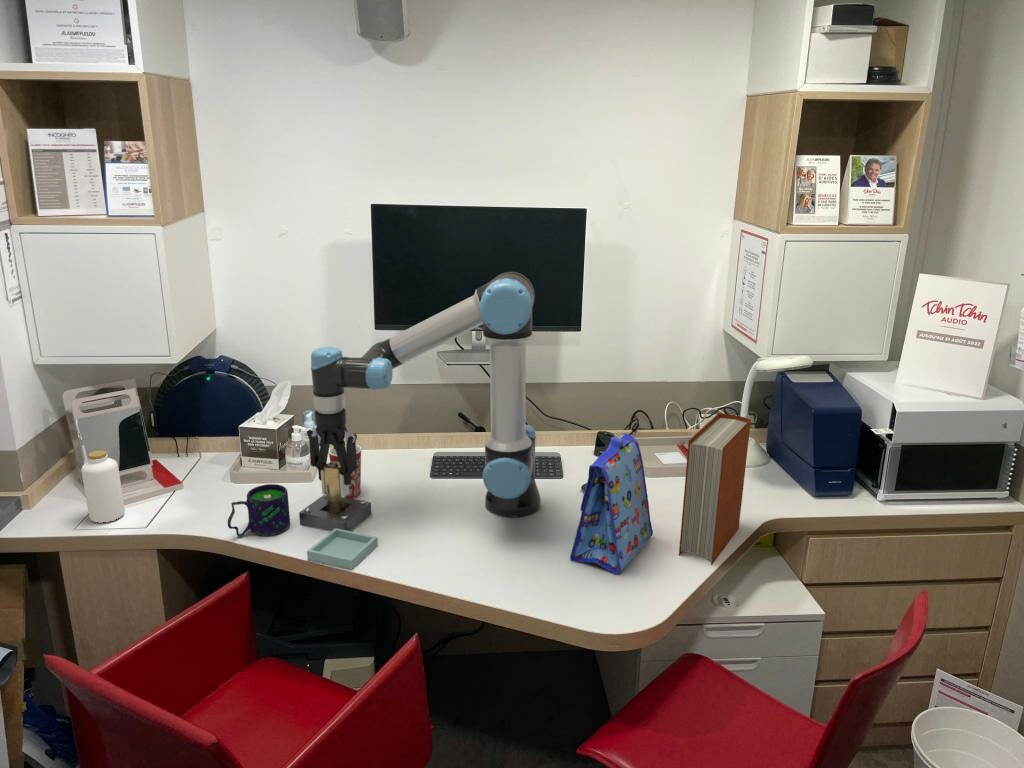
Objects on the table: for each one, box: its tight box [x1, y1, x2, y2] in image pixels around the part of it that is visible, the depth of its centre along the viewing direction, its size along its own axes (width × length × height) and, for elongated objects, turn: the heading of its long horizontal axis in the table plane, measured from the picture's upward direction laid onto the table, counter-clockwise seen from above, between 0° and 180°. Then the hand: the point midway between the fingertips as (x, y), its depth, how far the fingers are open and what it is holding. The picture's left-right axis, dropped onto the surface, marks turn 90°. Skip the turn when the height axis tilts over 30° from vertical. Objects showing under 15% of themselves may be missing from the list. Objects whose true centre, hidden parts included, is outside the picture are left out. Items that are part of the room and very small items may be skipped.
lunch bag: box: [569, 433, 654, 575], centre depth 185 cm, size 22×14×29 cm, turn 150°
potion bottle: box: [80, 450, 126, 524], centre depth 199 cm, size 8×8×18 cm
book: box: [678, 413, 752, 566], centre depth 189 cm, size 23×8×30 cm, turn 148°
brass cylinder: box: [324, 461, 347, 514], centre depth 199 cm, size 5×5×13 cm
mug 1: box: [227, 483, 291, 538], centre depth 195 cm, size 15×10×10 cm, turn 117°
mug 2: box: [328, 442, 363, 499], centre depth 216 cm, size 13×9×14 cm
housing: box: [298, 494, 372, 532], centre depth 201 cm, size 14×12×4 cm
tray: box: [306, 528, 379, 571], centre depth 186 cm, size 12×12×2 cm
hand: (335, 493), depth 200 cm, fingers closed on brass cylinder, 5 cm apart
